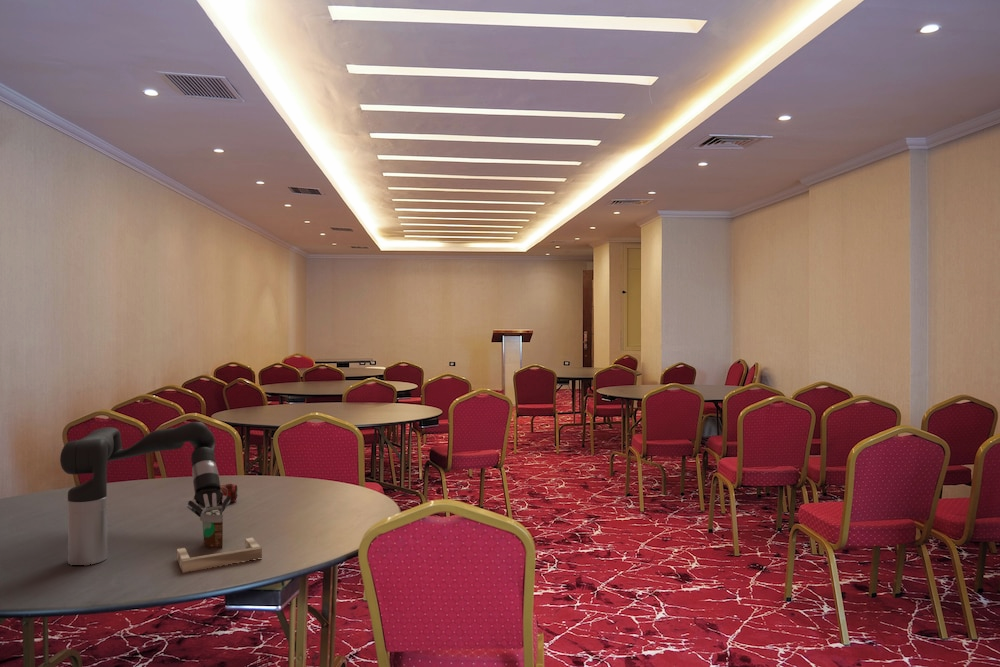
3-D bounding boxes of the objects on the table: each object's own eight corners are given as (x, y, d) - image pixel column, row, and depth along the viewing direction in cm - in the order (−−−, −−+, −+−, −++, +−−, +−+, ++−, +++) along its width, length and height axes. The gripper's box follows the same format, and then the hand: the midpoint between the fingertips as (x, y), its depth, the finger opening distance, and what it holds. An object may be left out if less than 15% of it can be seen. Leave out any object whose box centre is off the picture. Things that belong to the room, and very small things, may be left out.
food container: (200, 540, 208) (200, 507, 208) (222, 537, 210) (222, 505, 210) (199, 552, 196) (199, 517, 196) (222, 549, 199) (222, 515, 199)
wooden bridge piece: (177, 559, 190) (176, 548, 190) (252, 547, 201) (252, 537, 201) (182, 572, 180) (182, 561, 180) (261, 559, 190) (261, 548, 190)
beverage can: (237, 503, 252) (237, 485, 252) (201, 506, 249) (201, 487, 249) (238, 499, 259) (238, 481, 259) (204, 501, 256) (204, 483, 256)
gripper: (226, 482, 224) (234, 530, 214) (181, 487, 217) (187, 537, 207) (229, 469, 219) (238, 517, 209) (184, 474, 212) (190, 524, 202)
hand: (213, 527), depth 208 cm, fingers closed
